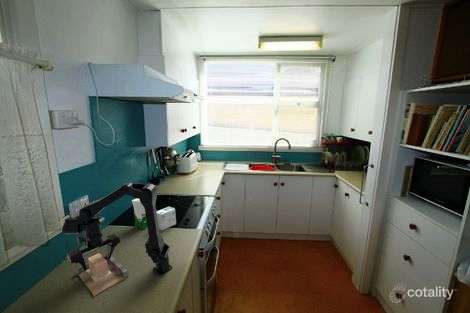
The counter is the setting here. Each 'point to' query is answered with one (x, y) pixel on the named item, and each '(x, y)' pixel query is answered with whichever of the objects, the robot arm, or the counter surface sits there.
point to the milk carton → (139, 214)
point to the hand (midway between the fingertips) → (97, 264)
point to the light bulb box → (166, 218)
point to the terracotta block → (98, 266)
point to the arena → (105, 282)
